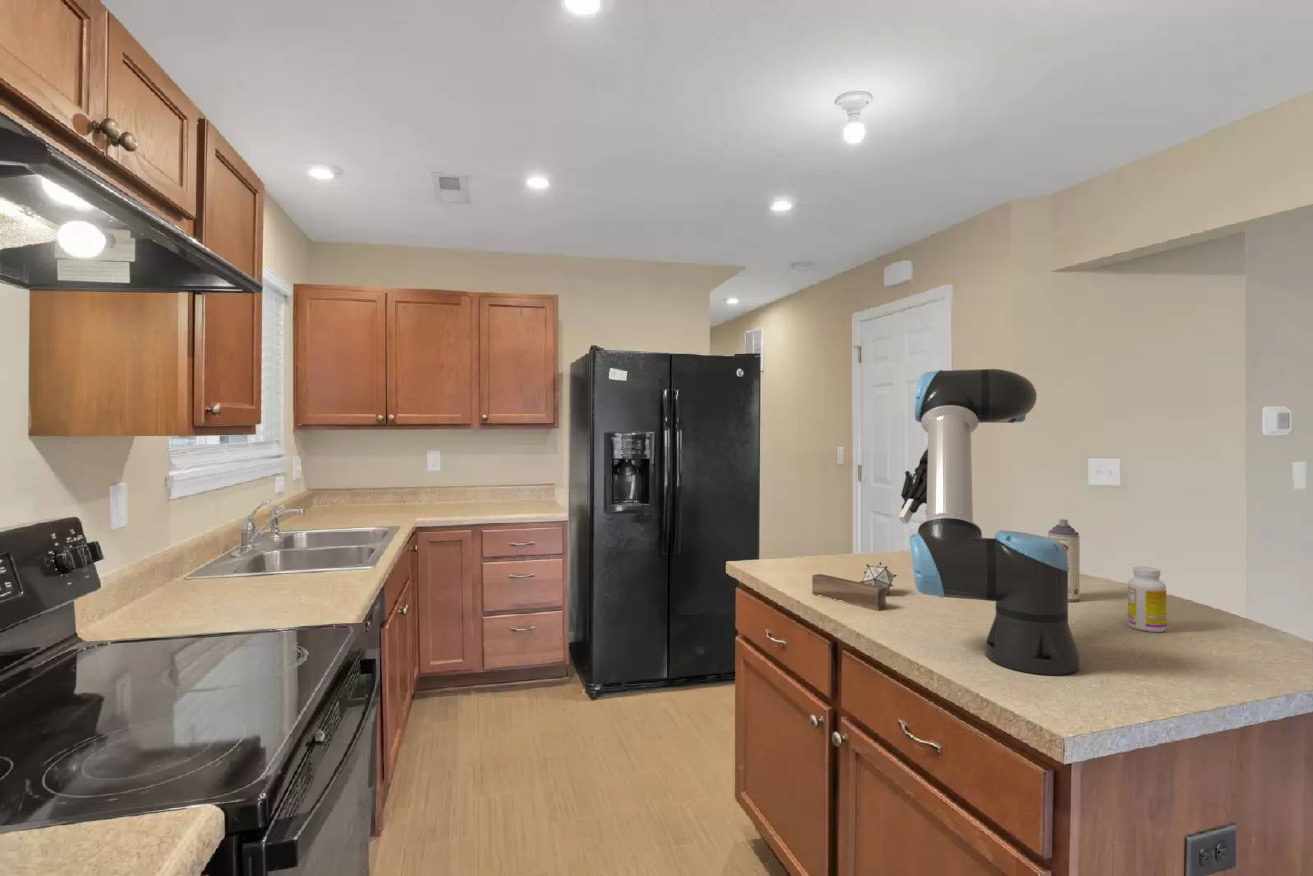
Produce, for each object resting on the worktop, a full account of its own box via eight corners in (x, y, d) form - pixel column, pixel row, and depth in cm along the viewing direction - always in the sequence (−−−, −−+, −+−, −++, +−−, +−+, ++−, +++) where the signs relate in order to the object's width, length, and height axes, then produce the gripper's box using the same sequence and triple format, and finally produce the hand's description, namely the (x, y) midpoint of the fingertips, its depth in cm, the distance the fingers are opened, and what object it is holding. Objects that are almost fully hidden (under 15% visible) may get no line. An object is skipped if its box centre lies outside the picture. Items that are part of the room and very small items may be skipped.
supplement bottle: (1172, 630, 142) (1172, 569, 142) (1157, 635, 138) (1157, 573, 138) (1136, 622, 148) (1136, 564, 148) (1121, 627, 144) (1121, 567, 144)
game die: (885, 609, 173) (904, 583, 168) (855, 597, 173) (873, 571, 168) (882, 585, 181) (900, 560, 175) (853, 574, 181) (870, 548, 175)
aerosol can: (1041, 597, 170) (1041, 518, 170) (1060, 594, 173) (1060, 517, 173) (1066, 603, 164) (1067, 522, 164) (1085, 600, 167) (1085, 520, 166)
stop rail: (877, 610, 158) (877, 589, 158) (812, 594, 174) (812, 575, 174) (885, 608, 160) (885, 587, 160) (820, 592, 176) (820, 573, 176)
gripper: (964, 466, 187) (930, 532, 177) (922, 464, 197) (888, 526, 188) (954, 448, 183) (919, 513, 174) (911, 447, 194) (876, 508, 184)
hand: (903, 520), depth 181 cm, fingers closed
